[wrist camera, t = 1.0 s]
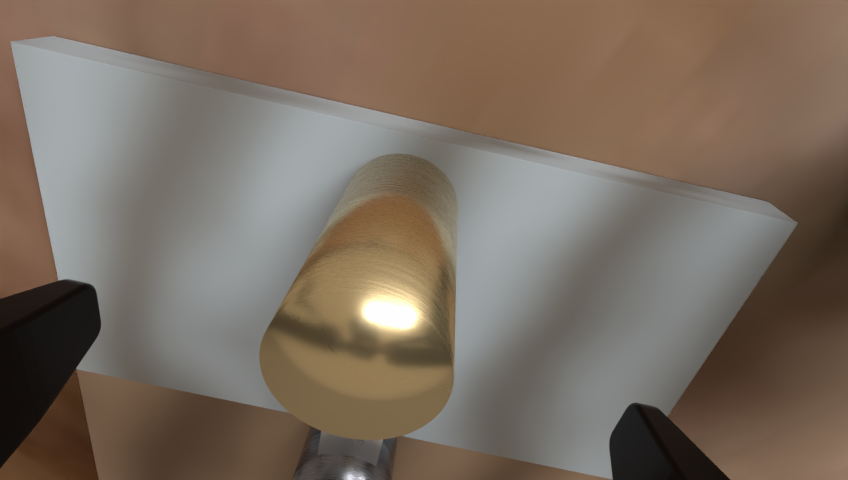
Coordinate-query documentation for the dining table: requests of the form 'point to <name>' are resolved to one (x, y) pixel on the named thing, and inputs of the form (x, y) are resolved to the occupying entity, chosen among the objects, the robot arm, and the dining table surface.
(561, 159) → the door board
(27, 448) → the dining table surface
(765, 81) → the dining table surface
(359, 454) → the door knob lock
